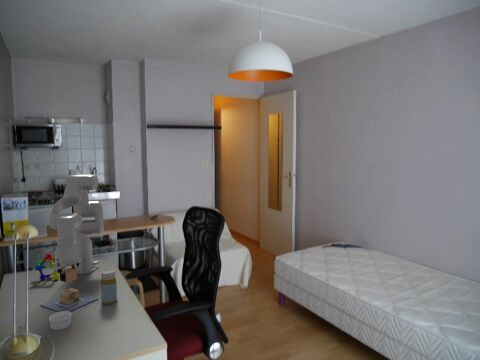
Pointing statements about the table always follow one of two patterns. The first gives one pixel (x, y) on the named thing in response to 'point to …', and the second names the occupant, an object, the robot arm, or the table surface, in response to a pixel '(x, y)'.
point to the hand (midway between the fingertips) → (68, 279)
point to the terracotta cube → (70, 274)
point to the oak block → (69, 296)
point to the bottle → (108, 287)
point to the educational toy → (39, 267)
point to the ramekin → (60, 320)
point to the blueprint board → (59, 306)
